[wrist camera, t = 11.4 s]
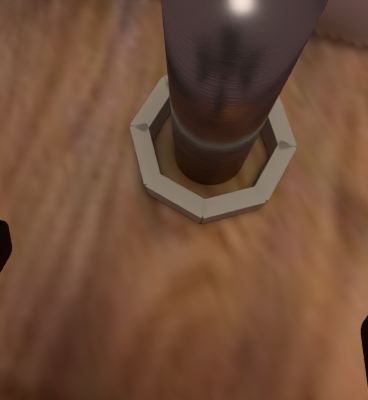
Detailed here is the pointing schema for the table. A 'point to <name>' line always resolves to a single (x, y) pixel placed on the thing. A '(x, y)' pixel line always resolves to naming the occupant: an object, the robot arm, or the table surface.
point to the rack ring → (190, 202)
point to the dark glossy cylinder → (228, 75)
